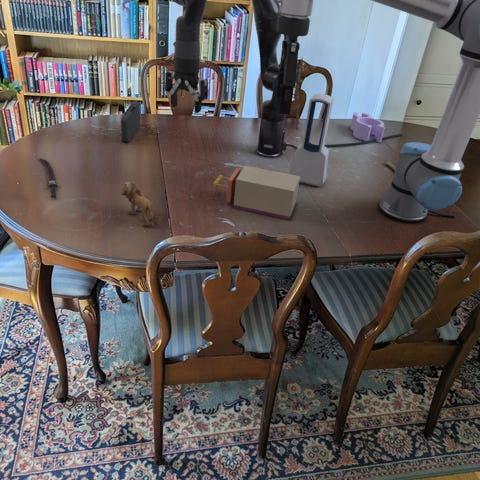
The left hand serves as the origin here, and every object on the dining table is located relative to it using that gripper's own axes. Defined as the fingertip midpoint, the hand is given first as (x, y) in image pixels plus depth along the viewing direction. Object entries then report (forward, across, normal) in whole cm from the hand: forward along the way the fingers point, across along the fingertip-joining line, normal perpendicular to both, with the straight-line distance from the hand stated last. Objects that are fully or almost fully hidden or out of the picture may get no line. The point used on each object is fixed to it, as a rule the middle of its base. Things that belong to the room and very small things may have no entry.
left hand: (185, 109), depth 147 cm
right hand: (-11, -36, +9) cm, 38 cm away
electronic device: (+24, -35, -26) cm, 50 cm away
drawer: (+23, -25, +1) cm, 34 cm away
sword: (+24, +35, +27) cm, 50 cm away
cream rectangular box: (+24, -31, 0) cm, 39 cm away
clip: (+24, -39, -91) cm, 102 cm away
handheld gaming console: (+24, +40, -22) cm, 52 cm away
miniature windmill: (+24, -6, -79) cm, 83 cm away
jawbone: (+24, -65, -60) cm, 91 cm away
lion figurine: (+24, -4, +29) cm, 38 cm away
